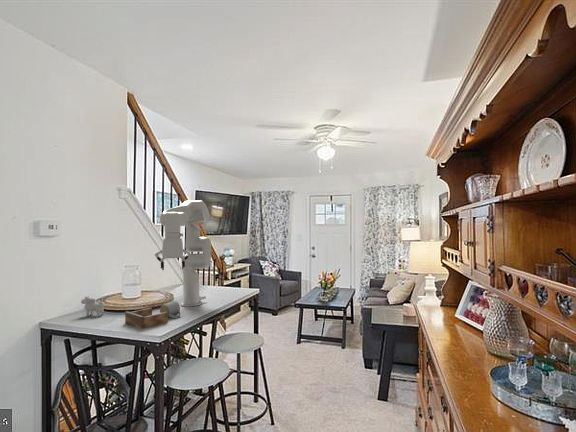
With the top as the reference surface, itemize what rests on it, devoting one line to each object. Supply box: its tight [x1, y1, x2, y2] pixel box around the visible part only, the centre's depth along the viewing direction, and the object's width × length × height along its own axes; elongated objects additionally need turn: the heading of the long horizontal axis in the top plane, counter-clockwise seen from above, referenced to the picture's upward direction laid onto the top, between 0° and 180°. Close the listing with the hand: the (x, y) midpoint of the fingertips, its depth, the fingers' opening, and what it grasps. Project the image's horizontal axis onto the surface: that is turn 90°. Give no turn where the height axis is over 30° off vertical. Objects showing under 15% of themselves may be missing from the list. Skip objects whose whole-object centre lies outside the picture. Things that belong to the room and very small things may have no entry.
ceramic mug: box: [159, 300, 181, 319], centre depth 182 cm, size 11×8×8 cm
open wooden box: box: [124, 307, 169, 329], centre depth 172 cm, size 14×16×6 cm
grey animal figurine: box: [80, 295, 105, 318], centre depth 189 cm, size 5×13×11 cm, turn 83°
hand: (173, 269), depth 174 cm, fingers open, 9 cm apart
